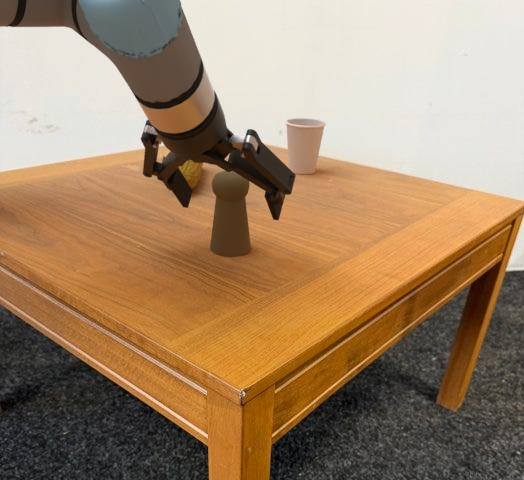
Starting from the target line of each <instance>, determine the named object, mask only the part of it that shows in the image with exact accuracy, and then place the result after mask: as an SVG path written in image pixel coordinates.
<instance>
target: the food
mask: <svg viewBox="0 0 524 480" xmlns="http://www.w3.org/2000/svg"><path fill="white" fill-rule="evenodd" d="M203 166H204V163H195V162H193V161H192V160H188V161H186V162H185V163H184V165H183V166H182V167H181V166H179V167H178V168H179V169H180V171H181V172H182V174H183V176H184V177H185V179H186V181H187V182H188V184H189V186H190V187H191V189H192V190H193V189H194V188H195V187H196V186H197V185H198V183H199V181H200V180H201V177H202V172H203Z"/></svg>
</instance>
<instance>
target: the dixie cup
mask: <svg viewBox="0 0 524 480" xmlns="http://www.w3.org/2000/svg"><path fill="white" fill-rule="evenodd" d="M284 124H286V125H285V126H286V142H287V159H288V168H289V169H290V170H291V171H292V172H293V173H294V174H295V175H312V174H315V173H316V169H317V165H318V159H319V154H320V150H321V144H322V140H323V134H324V129H325V127H326V126H327V125H326V124H327V123H326V122H325V121H323V120H322V119H321V120H320V119H315V118H309V117H307V118H306V117H297V118H288V119H286V120H285V122H284Z"/></svg>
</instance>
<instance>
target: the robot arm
mask: <svg viewBox="0 0 524 480" xmlns="http://www.w3.org/2000/svg"><path fill="white" fill-rule="evenodd" d="M2 27H3V28H4V27H5V28H8V27H10V28H61V27H63V28H69V29H72V30H73V32H76V34H78V35H79V36H80V37H81V38H83V39H84V40H85V41H86V42H87V43H89V44H90V45H92V46H93V47H94V48H96V50H98V51H99V52H100V53H102V54H103V55H104V56H105V57H107V59H109V60H110V61H111V62H112V64H113V65H114V66H115V68H116V69H117V70H118V72H119V73H120V75H121V76H122V79H124V81H125V83H126V85H127V86H128V87H129V89H130V91H131V92H132V94H133V96H134V97H135V99H136V101H137V103H138V105H139V106H140V108H141V109H142V111H143V113H144V115H145V116H146V118H147V120H146V121H145V124H144V127H143V130H142V133H141V137H140V141H141V143H142V145H143V147H144V156H143V168H142V175H143V176H144V177H146V178H152V177H153V176H155V177H156V179H157V180H158V181H160V182H162V183H163V185H165V187H166V189H167V190H168V191H171V192H172V193H173V195H174V197H175V198H176V199H177V200H178V202H179V204H180V205H181V206H182V208H184V209H185V208H186V209H188V208H189V206H190V203H191V199H192V196H193V192H194V191H193V189H191V187H190V186H189V184H188V182H187V181H186V179H185V177H184V176H183V174H182V172H181V171H180V169H179V168H178V167H179V166H181V167H182V166H183V165H184V163H185V162H186V161H188V160H192V161H193V162H195V163H203V164H209V165H214V166H217V167H219V168H220V169H222V171H227V172H231V171H234V172H235V173H237V174H239V175H240V176H242V177H243V178H245V179H247V180H248V181H249V183H250V184H251V183H252V184H253V185H255V186H256V187H258V188H260V189H261V190H263V191H264V196H263V197H264V198H265V201H266V204H267V207H268V209H269V212H270V215H271V217H272V220H273V221H280V217H281V213H282V209H283V205H284V203H285V200H286V199H285V198H286V195H287V196H290V195H292V192H293V189H294V184H295V181H296V177H297V174H295V173H293V172H292V171H291V170H290V169H289V166H287V165H286V164H285V163H284V162H283V161H282V160H281V159H280V158H279V157H278V156H277V155H276V154H275V153H274V152H273V151H272V150H271V149H270V147H269V148H268V146H266V144H264V143H263V142H262V140H261V138H260V135H259V134H258V131H256V130H255V129H253V128H247V130H246V132H245V135H235V134H234V133H233V132H232V131H231V130H230V129H229V128H228V125H227V121H226V116H225V112H224V110H223V107H222V105H221V102H220V100H219V97H218V95H217V92H216V91H215V88H214V85H213V83H212V80H211V77H210V76H209V73H208V71H207V68H206V66H205V63H204V61H203V59H202V56H201V54H200V51H199V49H198V46H197V43H196V41H195V38H194V35H193V32H192V30H191V27H190V25H189V22H188V20H187V17H186V14H185V12H184V9H183V7H182V2H181V0H0V28H2ZM161 144H163V145H164V147H165V148H166V149H167V150H168V151H169V152H168V153H167V155H166V156H163V157H162V161H161V162H159V161H158V154H159V149H160V148H159V147H160V145H161ZM227 157H228V158H227ZM226 158H227V160H226Z"/></svg>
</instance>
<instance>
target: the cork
mask: <svg viewBox="0 0 524 480" xmlns="http://www.w3.org/2000/svg"><path fill="white" fill-rule="evenodd" d="M250 185H251V182H250V181H248V180H247V179H245V178H243V177H242V176H240V175H239V174H237V173H235V172H234V171H231V172H227V171H225V170H222V171H219V172H217V173H215V174H214V176H213V177H212V180H211V189H212V193H213V194H214V196H215V203H214V210H213V211H214V212H213V219H212V228H211V229H212V230H211V237H210V245H209V250H210V252H212V253H213V254H215V255H218V256H224V257H240V256H244V255H246V254H248V253H250V252H251V250H252V244H251V243H252V242H251V236H250V226H249V216H248V210H247V200H246V197H247V196H248V194H249V191H250Z"/></svg>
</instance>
